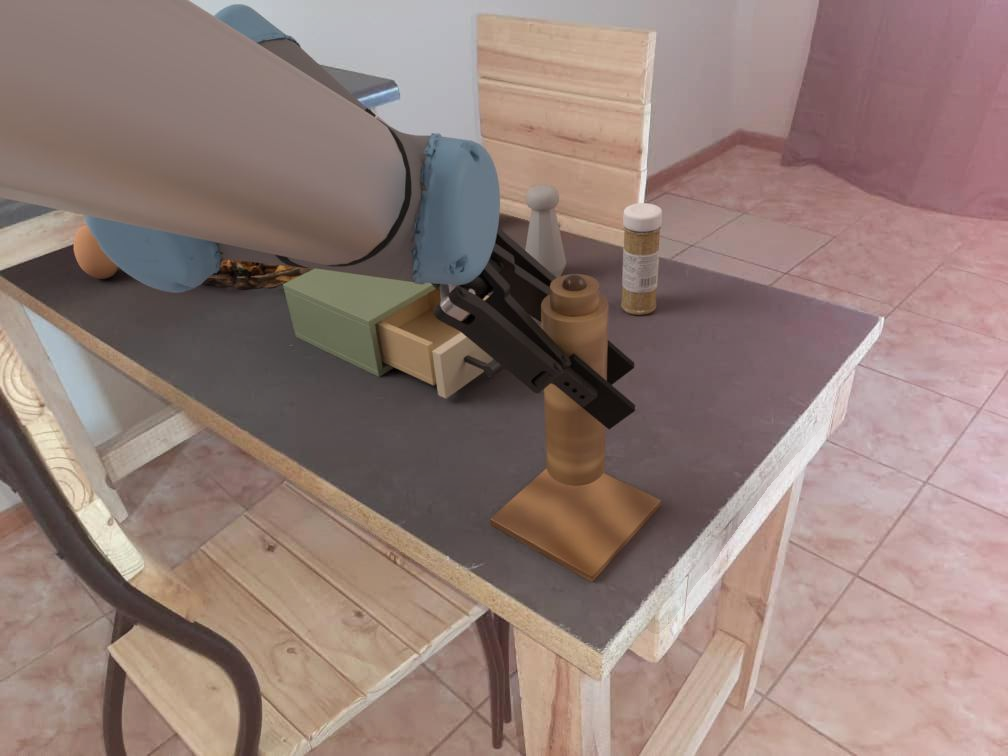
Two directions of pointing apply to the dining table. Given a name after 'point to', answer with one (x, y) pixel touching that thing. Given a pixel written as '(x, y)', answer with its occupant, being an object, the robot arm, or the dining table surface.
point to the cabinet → (347, 312)
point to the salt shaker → (545, 229)
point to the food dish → (253, 274)
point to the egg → (92, 255)
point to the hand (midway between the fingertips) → (621, 394)
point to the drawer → (431, 347)
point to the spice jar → (640, 257)
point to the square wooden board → (576, 520)
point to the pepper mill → (568, 427)
